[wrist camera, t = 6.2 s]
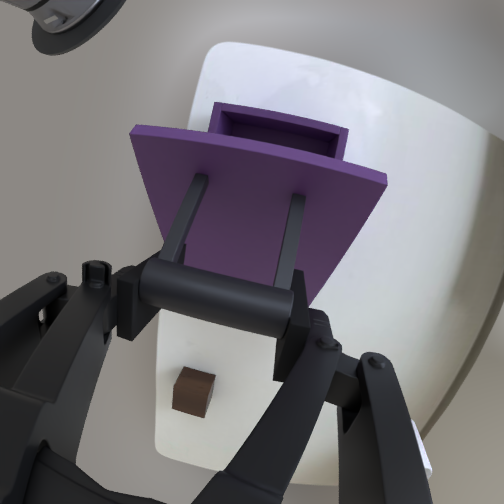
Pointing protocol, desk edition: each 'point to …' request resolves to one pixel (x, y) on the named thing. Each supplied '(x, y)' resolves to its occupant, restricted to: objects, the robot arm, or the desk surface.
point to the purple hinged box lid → (245, 223)
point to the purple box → (279, 129)
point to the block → (193, 392)
